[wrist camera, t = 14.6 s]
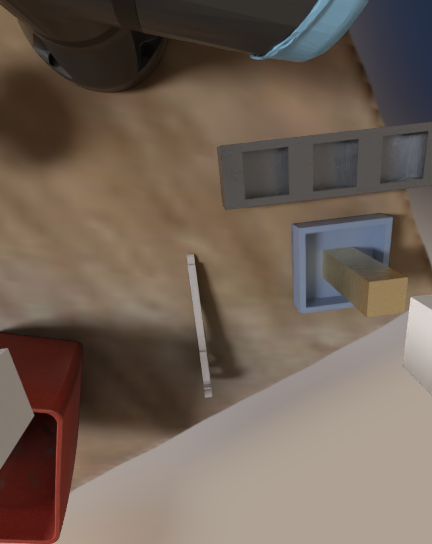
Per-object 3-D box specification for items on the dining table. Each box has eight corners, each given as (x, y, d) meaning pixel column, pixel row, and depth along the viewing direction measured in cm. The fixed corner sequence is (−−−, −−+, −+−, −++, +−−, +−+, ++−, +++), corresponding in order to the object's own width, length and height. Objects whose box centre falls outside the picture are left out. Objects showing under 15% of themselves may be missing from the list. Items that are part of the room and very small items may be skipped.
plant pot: (108, 324, 45) (61, 414, 29) (100, 426, 51) (57, 546, 35) (-34, 306, 42) (-170, 393, 27) (-25, 415, 48) (-132, 539, 33)
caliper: (211, 375, 49) (213, 404, 43) (204, 376, 49) (205, 405, 43) (194, 252, 42) (194, 267, 36) (186, 253, 42) (184, 268, 36)
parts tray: (291, 223, 41) (299, 228, 39) (379, 213, 42) (393, 217, 39) (293, 304, 46) (300, 313, 43) (373, 294, 46) (385, 302, 43)
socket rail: (222, 205, 40) (225, 209, 36) (217, 147, 38) (219, 145, 34) (418, 182, 41) (441, 184, 37) (425, 123, 38) (450, 119, 35)
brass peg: (322, 250, 42) (369, 282, 31) (351, 246, 42) (408, 277, 31) (322, 277, 44) (366, 317, 32) (350, 273, 44) (404, 312, 33)
